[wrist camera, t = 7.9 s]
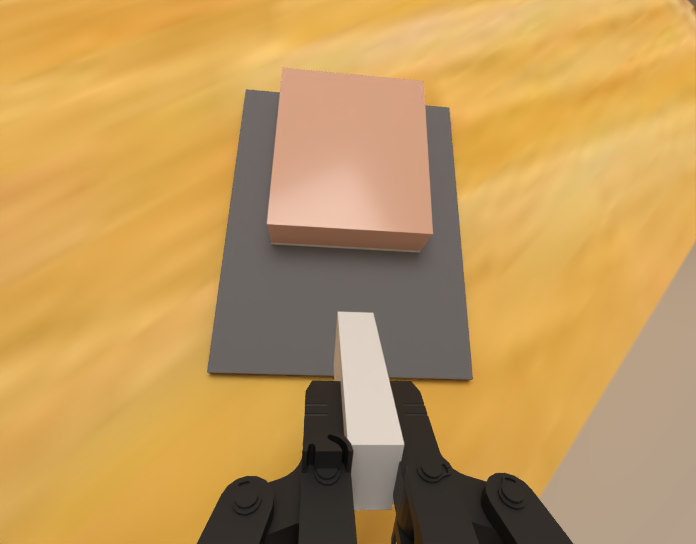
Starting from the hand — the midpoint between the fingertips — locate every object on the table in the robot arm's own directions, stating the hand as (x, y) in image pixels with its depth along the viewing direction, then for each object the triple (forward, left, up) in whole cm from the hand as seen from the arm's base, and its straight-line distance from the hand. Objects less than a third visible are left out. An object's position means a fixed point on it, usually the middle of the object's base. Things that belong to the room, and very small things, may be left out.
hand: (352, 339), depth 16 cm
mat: (+8, +6, -8) cm, 12 cm away
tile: (+6, +5, -6) cm, 9 cm away
